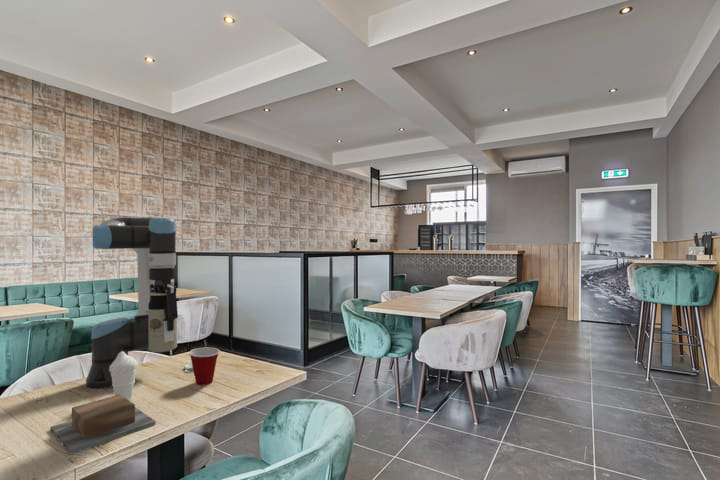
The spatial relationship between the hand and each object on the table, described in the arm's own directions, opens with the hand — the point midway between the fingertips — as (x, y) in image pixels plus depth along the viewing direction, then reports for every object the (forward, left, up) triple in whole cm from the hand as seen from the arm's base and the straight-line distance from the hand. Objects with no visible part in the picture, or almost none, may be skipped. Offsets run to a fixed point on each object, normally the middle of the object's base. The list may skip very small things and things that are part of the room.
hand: (163, 338), depth 120 cm
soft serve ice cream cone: (-19, -5, -22) cm, 30 cm away
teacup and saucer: (-32, +27, -23) cm, 48 cm away
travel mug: (0, 0, -3) cm, 3 cm away
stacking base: (-1, -16, -22) cm, 27 cm away
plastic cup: (-12, +20, -22) cm, 32 cm away
